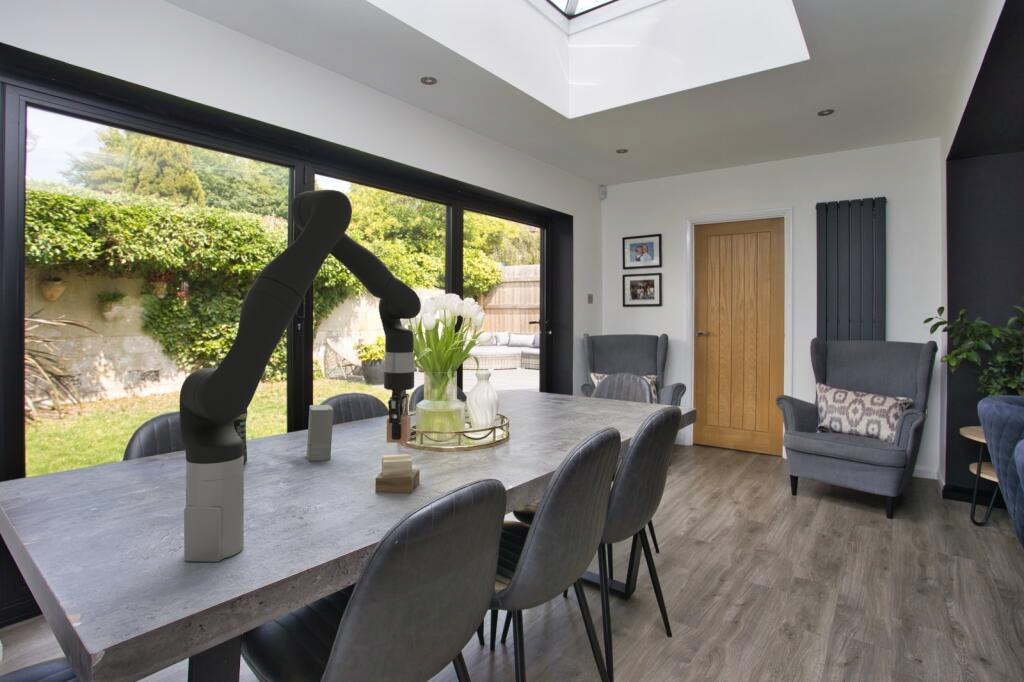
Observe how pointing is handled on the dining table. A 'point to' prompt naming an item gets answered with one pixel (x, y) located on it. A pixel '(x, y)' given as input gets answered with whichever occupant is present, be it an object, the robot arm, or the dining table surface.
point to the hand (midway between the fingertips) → (398, 436)
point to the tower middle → (396, 466)
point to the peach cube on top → (404, 430)
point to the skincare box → (319, 432)
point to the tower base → (397, 483)
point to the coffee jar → (242, 430)
